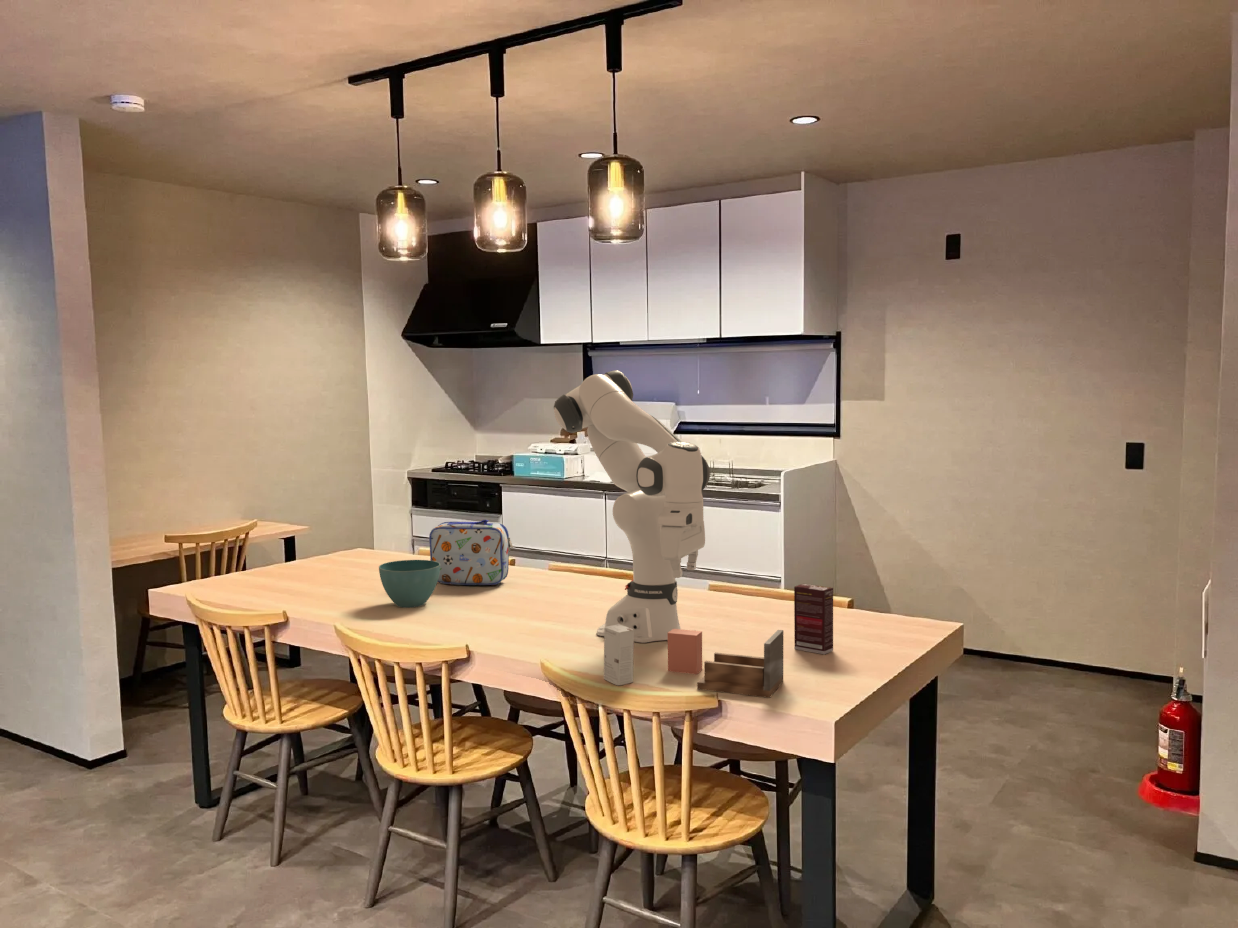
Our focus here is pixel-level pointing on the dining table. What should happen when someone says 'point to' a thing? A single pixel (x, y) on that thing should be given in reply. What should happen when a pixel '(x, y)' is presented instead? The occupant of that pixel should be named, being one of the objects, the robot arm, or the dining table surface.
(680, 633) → the red book
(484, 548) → the lunch box
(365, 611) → the dining table surface
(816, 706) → the dining table surface
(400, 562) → the green bowl
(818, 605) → the supplement box
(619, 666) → the skincare box
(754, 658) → the book rack
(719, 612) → the dining table surface
